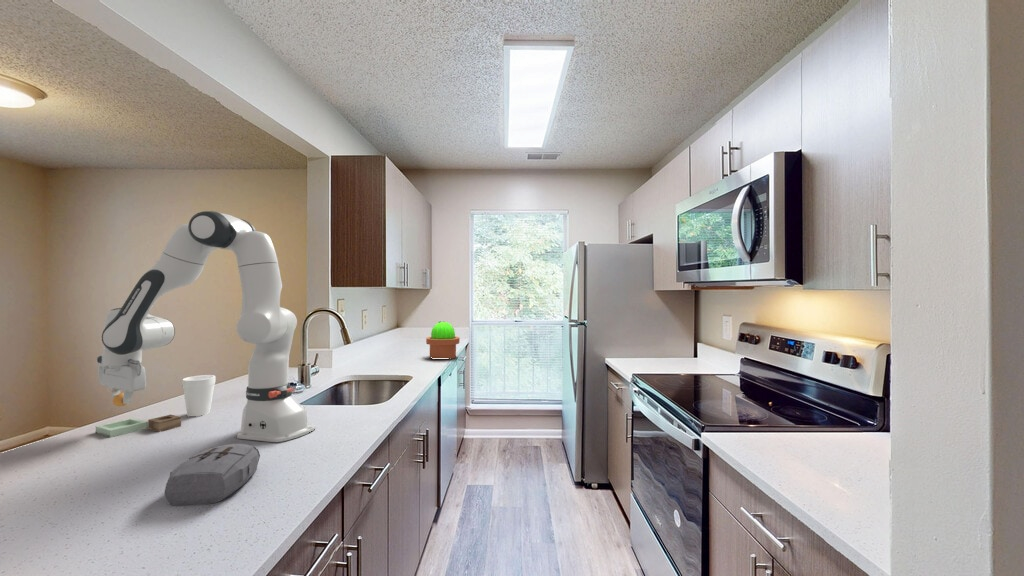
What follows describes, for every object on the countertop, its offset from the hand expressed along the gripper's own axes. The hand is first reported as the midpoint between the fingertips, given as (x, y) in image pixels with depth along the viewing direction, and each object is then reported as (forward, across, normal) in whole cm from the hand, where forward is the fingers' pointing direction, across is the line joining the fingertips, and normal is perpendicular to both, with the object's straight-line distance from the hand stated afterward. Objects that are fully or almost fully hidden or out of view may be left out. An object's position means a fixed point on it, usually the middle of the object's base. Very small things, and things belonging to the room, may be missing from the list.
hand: (121, 402), depth 126 cm
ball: (-1, 0, 0) cm, 1 cm away
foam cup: (+9, -3, -20) cm, 22 cm away
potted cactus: (+8, -14, -161) cm, 162 cm away
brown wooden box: (+9, -9, -7) cm, 15 cm away
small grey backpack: (+9, -65, +9) cm, 66 cm away
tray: (+9, 0, 0) cm, 9 cm away
